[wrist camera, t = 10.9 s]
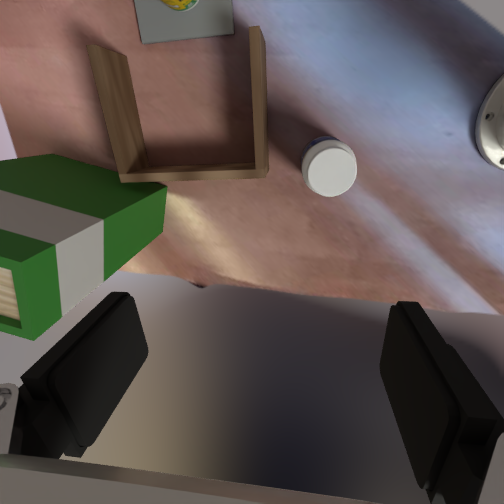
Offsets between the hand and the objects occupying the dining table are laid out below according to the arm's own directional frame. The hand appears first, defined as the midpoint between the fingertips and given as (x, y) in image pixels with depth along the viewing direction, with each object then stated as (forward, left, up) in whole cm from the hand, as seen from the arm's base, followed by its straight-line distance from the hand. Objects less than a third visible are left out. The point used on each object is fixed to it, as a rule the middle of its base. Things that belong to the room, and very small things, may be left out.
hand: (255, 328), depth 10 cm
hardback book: (+26, +2, -31) cm, 40 cm away
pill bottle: (-5, -2, -31) cm, 31 cm away
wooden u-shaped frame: (+11, -8, -30) cm, 33 cm away
